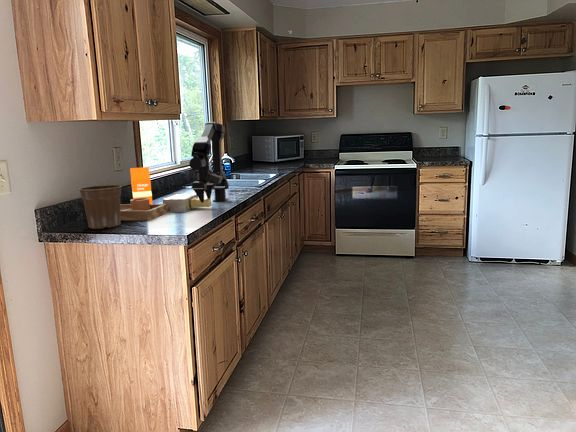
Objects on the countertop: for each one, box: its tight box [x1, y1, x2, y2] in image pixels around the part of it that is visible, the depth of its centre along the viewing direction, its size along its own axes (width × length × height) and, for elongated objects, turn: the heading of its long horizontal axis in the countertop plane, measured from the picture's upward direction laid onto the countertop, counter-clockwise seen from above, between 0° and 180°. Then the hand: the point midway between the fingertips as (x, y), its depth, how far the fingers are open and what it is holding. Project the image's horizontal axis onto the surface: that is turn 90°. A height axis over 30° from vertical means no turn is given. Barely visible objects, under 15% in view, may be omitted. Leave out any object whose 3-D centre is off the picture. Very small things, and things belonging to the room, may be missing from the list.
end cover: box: [190, 198, 212, 209], centre depth 216 cm, size 5×16×4 cm, turn 80°
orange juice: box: [130, 166, 154, 204], centre depth 223 cm, size 8×9×20 cm
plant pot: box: [78, 184, 123, 230], centre depth 182 cm, size 16×16×16 cm
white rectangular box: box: [162, 193, 199, 213], centre depth 217 cm, size 16×11×6 cm
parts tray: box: [120, 203, 169, 221], centre depth 203 cm, size 17×26×4 cm, turn 80°
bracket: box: [121, 198, 150, 211], centre depth 202 cm, size 18×8×7 cm, turn 145°
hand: (205, 200), depth 215 cm, fingers open, 9 cm apart
